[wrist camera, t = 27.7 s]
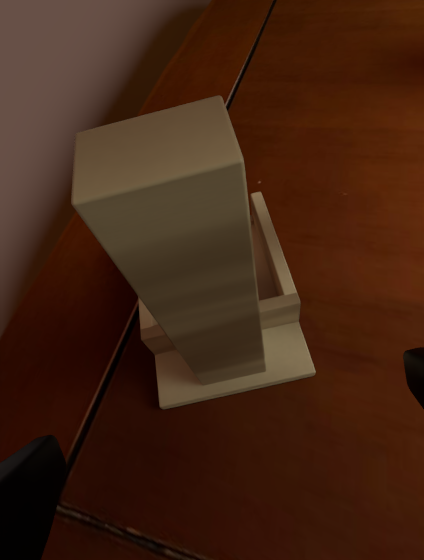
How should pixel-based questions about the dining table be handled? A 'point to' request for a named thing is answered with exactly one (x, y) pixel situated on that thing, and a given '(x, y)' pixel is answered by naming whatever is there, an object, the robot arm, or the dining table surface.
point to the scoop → (192, 251)
